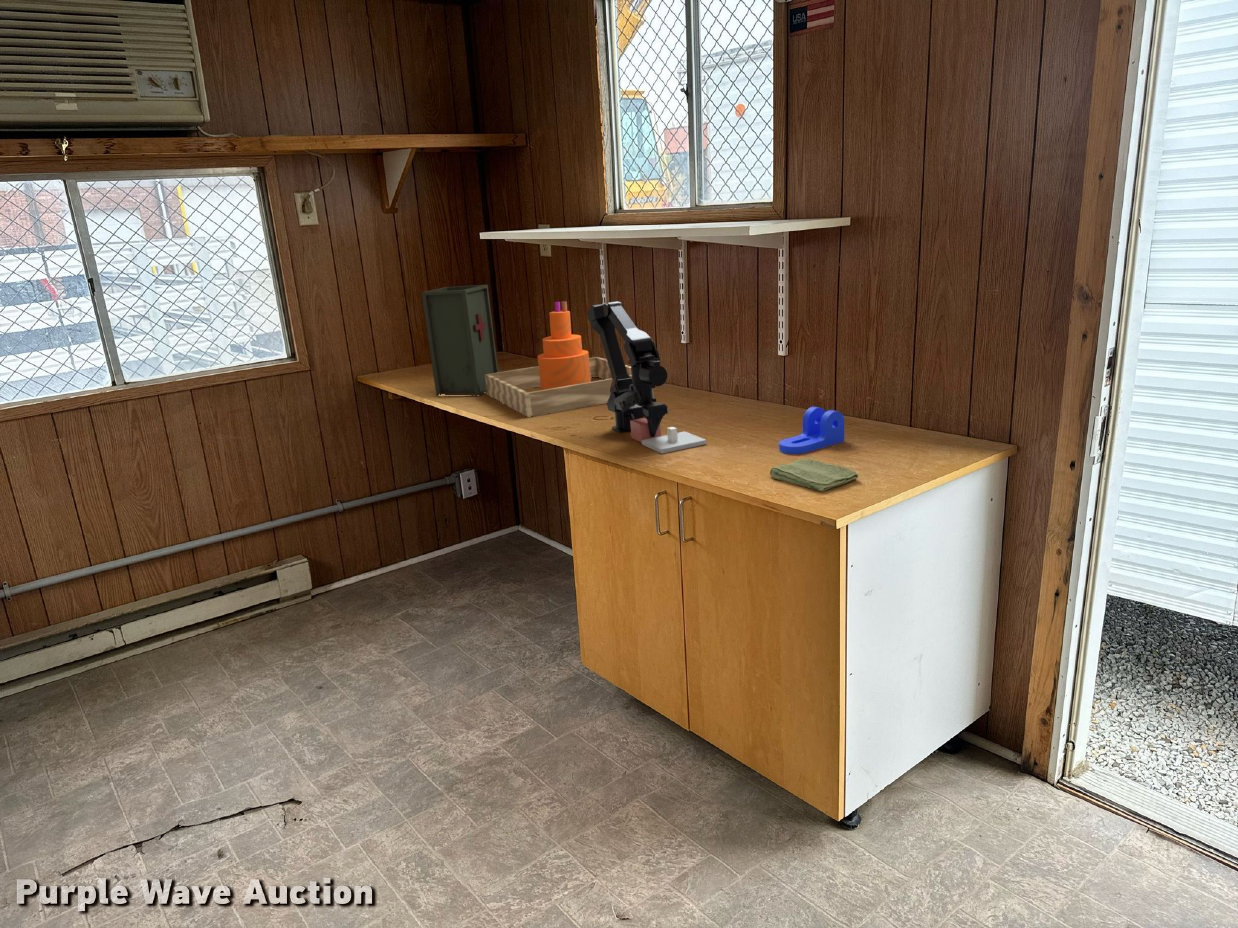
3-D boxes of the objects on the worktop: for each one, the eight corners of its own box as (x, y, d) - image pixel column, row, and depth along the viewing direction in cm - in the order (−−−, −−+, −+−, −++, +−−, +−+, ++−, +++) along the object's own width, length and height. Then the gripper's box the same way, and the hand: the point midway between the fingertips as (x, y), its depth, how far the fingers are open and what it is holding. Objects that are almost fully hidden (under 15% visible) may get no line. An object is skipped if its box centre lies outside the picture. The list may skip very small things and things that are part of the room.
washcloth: (823, 495, 186) (822, 482, 185) (766, 479, 200) (766, 466, 199) (862, 481, 193) (862, 468, 192) (805, 466, 207) (804, 454, 206)
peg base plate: (641, 444, 236) (640, 428, 235) (684, 435, 242) (684, 419, 240) (661, 453, 226) (660, 436, 225) (706, 444, 231) (705, 427, 230)
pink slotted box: (631, 437, 244) (630, 419, 242) (651, 434, 246) (649, 415, 245) (641, 442, 238) (640, 423, 237) (661, 438, 241) (660, 419, 239)
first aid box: (479, 396, 320) (465, 290, 308) (436, 396, 325) (421, 292, 314) (500, 385, 336) (487, 284, 325) (459, 386, 342) (445, 287, 330)
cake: (533, 401, 300) (535, 302, 291) (540, 392, 318) (541, 298, 309) (590, 404, 300) (593, 305, 290) (593, 394, 318) (596, 300, 309)
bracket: (821, 436, 230) (821, 404, 228) (844, 441, 224) (844, 409, 221) (772, 450, 221) (771, 417, 219) (795, 456, 215) (794, 422, 212)
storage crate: (487, 395, 320) (484, 374, 318) (599, 376, 339) (597, 356, 336) (528, 417, 279) (525, 394, 277) (652, 394, 298) (651, 372, 295)
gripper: (602, 380, 242) (607, 432, 247) (631, 390, 226) (635, 446, 231) (637, 374, 247) (640, 426, 251) (667, 384, 231) (670, 438, 235)
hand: (646, 434), depth 242 cm, fingers open, 8 cm apart
